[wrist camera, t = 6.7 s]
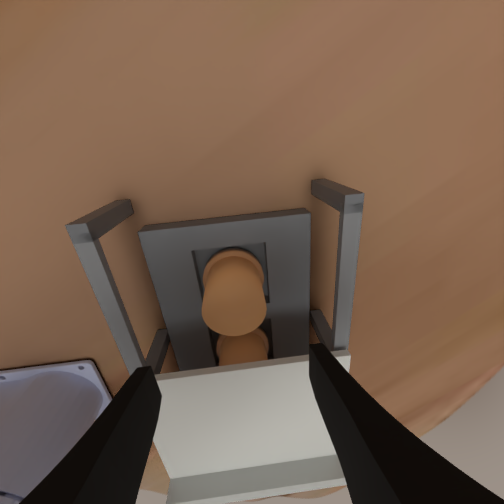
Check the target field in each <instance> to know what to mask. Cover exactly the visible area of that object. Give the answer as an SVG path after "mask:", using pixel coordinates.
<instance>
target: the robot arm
mask: <svg viewBox="0 0 504 504" xmlns="http://www.w3.org/2000/svg"><path fill="white" fill-rule="evenodd" d="M309 378H310V382H311V386H312V389H313V393H314V396H315V400H316V402H317V405H318V408H319V410H320V413H321V415H322V418H323V420H324V423H325V426H326V428H327V431H328V433H329V436H330V438H331V441H332V444H333V446H334V449H335V451H336V454H337V456H338V459H339V462H340V465H341V468H342V471H343V474H344V477H345V480H346V484H347V487H348V490H349V493H350V497H351V500H352V503H353V504H504V500H503V499H502V498H500V497H499V496H497V495H495V494H494V493H493V492H491V491H490V490H488V489H487V488H485V487H484V486H482V485H481V484H479V483H478V482H476V481H475V480H473V479H472V478H471V477H469V476H468V475H466V474H465V473H464V472H462V471H461V470H459V469H458V468H457V467H455V466H454V465H453V464H451V463H450V462H449V461H447V460H446V459H445V458H444V457H442V456H441V455H440V454H438V453H437V452H435V451H434V450H433V449H432V448H430V447H429V446H428V445H426V444H425V443H424V442H422V441H421V440H420V439H419V438H418V437H416V436H415V435H414V434H413V433H412V432H410V431H409V430H408V429H407V428H406V427H404V426H403V425H402V424H401V423H400V422H399V421H397V420H396V419H395V418H394V417H393V416H392V415H391V414H389V413H388V412H387V411H386V410H385V409H384V408H383V407H382V406H381V405H380V404H379V403H378V402H377V401H376V400H375V399H374V398H372V397H371V396H370V395H369V394H368V393H367V392H366V391H365V390H364V389H363V388H362V387H361V386H360V384H359V383H358V382H357V381H356V380H355V379H354V378H353V377H352V376H351V375H350V374H349V373H348V372H347V371H346V369H345V368H344V367H343V366H342V365H341V364H340V363H339V361H338V360H337V359H336V358H335V357H334V356H333V354H332V353H331V352H330V351H329V350H328V348H327V347H326V346H325V345H324V344H323V343H317V344H310V345H309ZM161 400H162V394H161V392H160V389H159V386H158V383H157V381H156V378H155V375H154V373H153V370H152V367H151V366H144V367H137V368H136V369H135V371H134V372H133V373H132V375H131V376H130V377H129V378H128V380H127V381H126V382H125V384H124V385H123V386H122V388H121V389H120V390H119V392H118V393H117V394H116V395H115V397H114V398H113V399H112V398H111V396H110V394H109V392H108V390H107V388H106V386H105V384H104V382H103V380H102V378H101V376H100V374H99V372H98V370H97V368H96V366H95V364H94V363H93V361H91V360H83V361H75V362H68V363H60V364H52V365H44V366H36V367H29V368H21V369H13V370H5V371H0V504H135V503H136V499H137V495H138V491H139V487H140V483H141V480H142V476H143V473H144V469H145V466H146V462H147V459H148V455H149V452H150V448H151V445H152V441H153V437H154V434H155V430H156V427H157V423H158V418H159V412H160V406H161ZM95 420H96V421H95ZM94 421H95V422H94Z"/></svg>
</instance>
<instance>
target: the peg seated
mask: <svg viewBox="0 0 504 504" xmlns="http://www.w3.org/2000/svg"><path fill="white" fill-rule="evenodd" d="M216 350H217V355H218V357H219V366H225V365H232V364H240V363H248V362H255V361H263V360H268V358H267V353H268V350H269V344H268V338H267V335H266V333H265V331H264V330H263V329H262V328H261V327H260V326H258V327H257V328H256V329H255V330H253V331H251V332H250V333H247V334H244V335H240V336H226V335H222V334H219V336H218V339H217V349H216Z"/></svg>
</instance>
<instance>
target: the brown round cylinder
mask: <svg viewBox="0 0 504 504" xmlns="http://www.w3.org/2000/svg"><path fill="white" fill-rule="evenodd" d="M263 283H264V274H263V270H262V266H261V264H260V262H259V260H258V259H257V258H256V257H255V256H254V255H253V254H252V253H250V252H248V251H246V250H243V249H239V248H228V249H224V250H221V251H219V252H217V253H216V254H214V255H213V256H212V257H211V258H210V259H209V260H208V262H207V264H206V266H205V269H204V274H203V285H204V288H205V292H204V297H203V303H202V317H203V320H204V322H205V323H206V325H207V326H208V327H209V328H210V329H212V330H213V331H215V332H217V333H219V334H222V335H226V336H240V335H244V334H247V333H250V332H251V331H253V330H255V329H256V328H257V327H258V326H259V325H260V324H261V323H262V322H263V320H264V318H265V316H266V311H267V307H266V301H265V297H264V292H263V288H262V286H263Z"/></svg>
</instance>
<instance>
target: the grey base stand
mask: <svg viewBox="0 0 504 504" xmlns="http://www.w3.org/2000/svg"><path fill="white" fill-rule="evenodd" d="M311 194H312V195H314V196H315V197H317V198H319V199H320V200H322V201H323V202H325V203H327V204H328V205H330V206H332V207H333V208H335V209H336V210H338V211H340V219H339V235H338V250H337V265H336V281H335V296H334V311H333V327H332V330H331V328H330V326H329V324H328V323H327V321H326V319H325V317H324V315H323V313H322V311H321V310H312V311H310V236H311V213H310V212H309V211H308V210H306V209H305V208H301V209H291V210H282V211H273V212H264V213H255V214H246V215H236V216H227V217H218V218H209V219H200V220H191V221H181V222H172V223H163V224H154V225H145V226H144V227H143V228H141V229H140V230H139V231H138V236H139V239H140V242H141V246H142V249H143V252H144V255H145V259H146V262H147V265H148V268H149V272H150V275H151V278H152V282H153V285H154V288H155V291H156V295H157V298H158V301H159V304H160V308H161V311H162V314H163V318H164V321H165V324H166V327H167V329H160V330H157V332H156V335H155V338H154V340H153V343H152V345H151V348H150V350H149V353H148V355H147V358H146V360H145V359H144V357H143V354H142V352H141V349H140V346H139V344H138V341H137V338H136V336H135V333H134V331H133V328H132V325H131V323H130V320H129V318H128V315H127V312H126V310H125V307H124V304H123V302H122V299H121V297H120V294H119V291H118V289H117V286H116V284H115V281H114V278H113V276H112V273H111V270H110V268H109V265H108V263H107V260H106V257H105V255H104V252H103V250H102V247H101V244H100V242H99V239H98V238H100V237H101V236H102V235H104V234H105V233H107V232H108V231H109V230H111V229H112V228H114V227H115V226H116V225H118V224H119V223H121V222H122V221H123V220H125V219H126V218H128V217H129V216H130V215H132V214H133V213H134V212H133V209H132V205H131V202H130V199H127V200H117V201H114V202H112V203H110V204H108V205H106V206H103V207H101V208H99V209H97V210H95V211H93V212H91V213H89V214H87V215H85V216H83V217H81V218H79V219H77V220H75V221H73V222H71V223H69V224H67V225H65V226H66V229H67V231H68V233H69V236H70V238H71V240H72V243H73V245H74V247H75V249H76V252H77V254H78V256H79V259H80V261H81V263H82V266H83V268H84V270H85V273H86V275H87V277H88V279H89V282H90V284H91V286H92V289H93V291H94V293H95V296H96V298H97V300H98V302H99V305H100V307H101V309H102V312H103V314H104V316H105V319H106V321H107V323H108V326H109V328H110V330H111V332H112V335H113V337H114V339H115V342H116V344H117V346H118V349H119V351H120V353H121V356H122V358H123V360H124V362H125V365H126V367H127V369H128V372H129V374H130V376H131V375H132V373H133V372H134V371H135V369H136V368H137V367H144V366H151V367H152V370H153V373H154V375H156V374H160V371H161V368H162V365H163V362H164V358H165V355H166V352H167V349H168V345H169V342H170V340H171V344H172V347H173V350H174V354H175V357H176V360H177V363H178V367H179V370H180V371H187V370H194V369H202V368H210V367H217V366H219V357H218V355H217V350H216V349H217V339H218V336H219V333H217V332H215V331H213V330H212V329H210V328H209V327H208V326H207V325H206V323H205V322H204V320H203V317H202V303H203V297H204V292H205V288H204V285H203V274H204V269H205V266H206V264H207V262H208V260H209V259H210V258H211V257H212V256H213V255H214V254H216V253H217V252H219V251H221V250H224V249H228V248H239V249H243V250H246V251H248V252H250V253H252V254H253V255H254V256H255V257H256V258H257V259H258V260H259V262H260V264H261V266H262V270H263V274H264V283H263V286H262V288H263V292H264V297H265V301H266V307H267V311H266V316H265V318H264V320H263V322H262V323H261V324H260V325H259V326H260V327H261V328H262V329H263V330H264V331H265V333H266V335H267V338H268V344H269V350H268V353H267V358H268V360H270V359H278V358H286V357H293V356H301V355H308V354H309V311H310V321H311V323H312V326H313V328H314V330H315V332H316V334H317V337H318V339H319V341H320V343H323V344H324V345H325V346H326V347H327V348H328V350H329V351H330V352H331V351H339V350H346V349H348V345H349V335H350V326H351V316H352V307H353V297H354V288H355V278H356V269H357V259H358V250H359V240H360V231H361V221H362V211H363V202H364V193H363V192H360V191H357V190H355V189H352V188H349V187H346V186H344V185H341V184H338V183H336V182H333V181H330V180H327V179H318V180H312V193H311Z"/></svg>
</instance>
